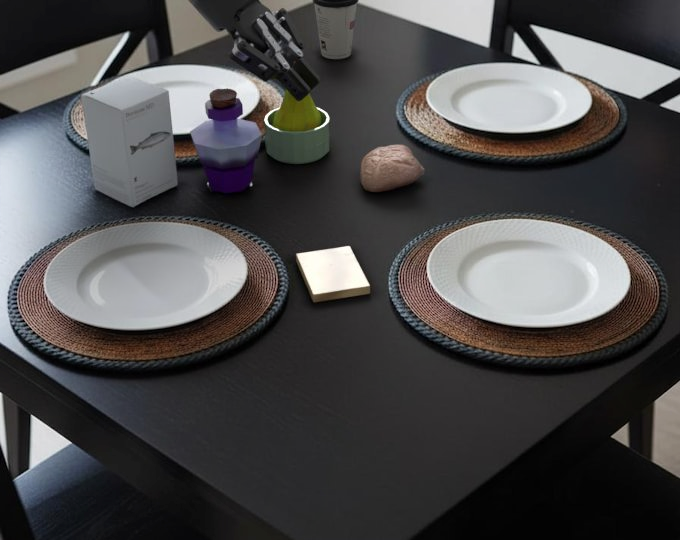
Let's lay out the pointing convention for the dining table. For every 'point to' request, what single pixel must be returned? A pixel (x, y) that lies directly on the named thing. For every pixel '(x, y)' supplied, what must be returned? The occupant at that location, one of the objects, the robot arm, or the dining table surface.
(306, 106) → the fruit
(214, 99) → the potion bottle
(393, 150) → the brown rounded lump
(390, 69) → the dining table surface
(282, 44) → the robot arm
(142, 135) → the white packaging box
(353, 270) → the board
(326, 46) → the coffee cup
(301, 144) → the bowl
